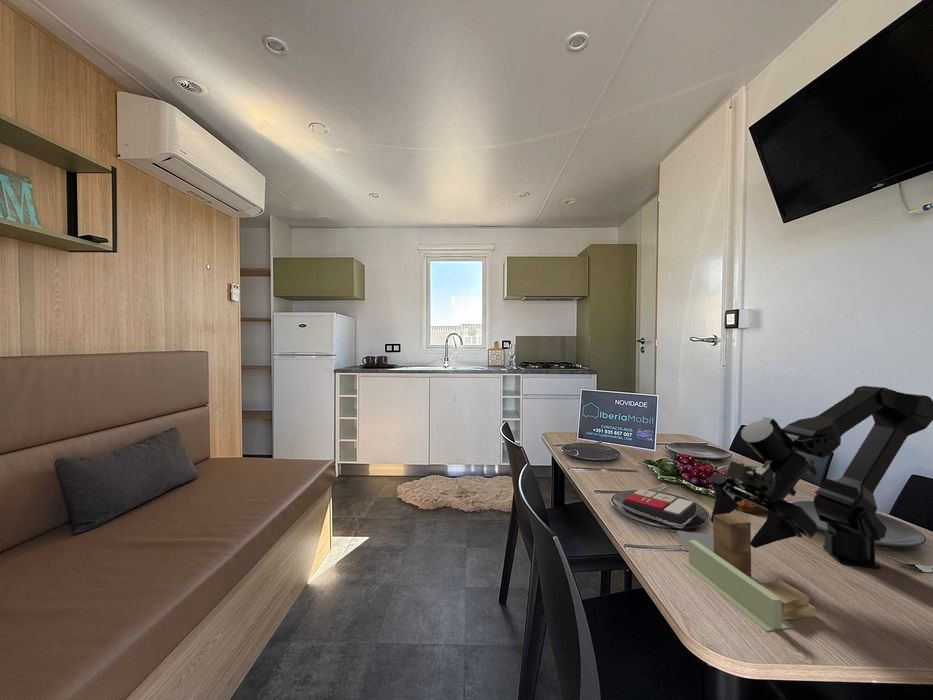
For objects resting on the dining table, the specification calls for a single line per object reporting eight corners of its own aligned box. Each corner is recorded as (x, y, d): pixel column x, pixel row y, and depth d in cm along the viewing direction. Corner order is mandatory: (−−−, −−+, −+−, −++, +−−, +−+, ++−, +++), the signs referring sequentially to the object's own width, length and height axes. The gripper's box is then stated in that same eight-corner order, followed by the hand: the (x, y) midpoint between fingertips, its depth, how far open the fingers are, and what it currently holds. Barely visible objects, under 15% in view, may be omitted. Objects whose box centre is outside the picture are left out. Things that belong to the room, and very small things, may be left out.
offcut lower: (785, 596, 66) (785, 588, 66) (815, 616, 61) (815, 607, 61) (751, 599, 65) (751, 590, 65) (779, 620, 60) (779, 611, 60)
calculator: (639, 487, 108) (696, 500, 97) (640, 501, 108) (697, 516, 97) (621, 497, 101) (680, 513, 90) (622, 513, 101) (681, 530, 90)
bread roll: (779, 518, 94) (775, 498, 94) (727, 515, 99) (724, 496, 100) (770, 503, 103) (767, 485, 104) (723, 501, 109) (720, 484, 109)
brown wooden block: (733, 565, 75) (732, 512, 75) (751, 578, 71) (750, 522, 71) (714, 568, 74) (713, 514, 74) (730, 580, 70) (730, 524, 70)
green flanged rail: (705, 562, 76) (704, 538, 76) (793, 628, 58) (793, 597, 58) (683, 564, 75) (683, 541, 75) (766, 632, 58) (766, 601, 58)
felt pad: (725, 538, 85) (725, 536, 85) (739, 559, 77) (739, 558, 77) (676, 532, 89) (676, 530, 89) (685, 552, 80) (685, 550, 80)
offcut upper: (779, 588, 65) (780, 580, 65) (808, 605, 61) (809, 596, 61) (755, 594, 64) (756, 585, 64) (784, 612, 59) (784, 603, 59)
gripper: (715, 437, 82) (672, 489, 81) (803, 463, 64) (748, 531, 62) (746, 469, 83) (704, 521, 82) (841, 504, 65) (788, 572, 64)
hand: (731, 533), depth 72 cm, fingers open, 9 cm apart
